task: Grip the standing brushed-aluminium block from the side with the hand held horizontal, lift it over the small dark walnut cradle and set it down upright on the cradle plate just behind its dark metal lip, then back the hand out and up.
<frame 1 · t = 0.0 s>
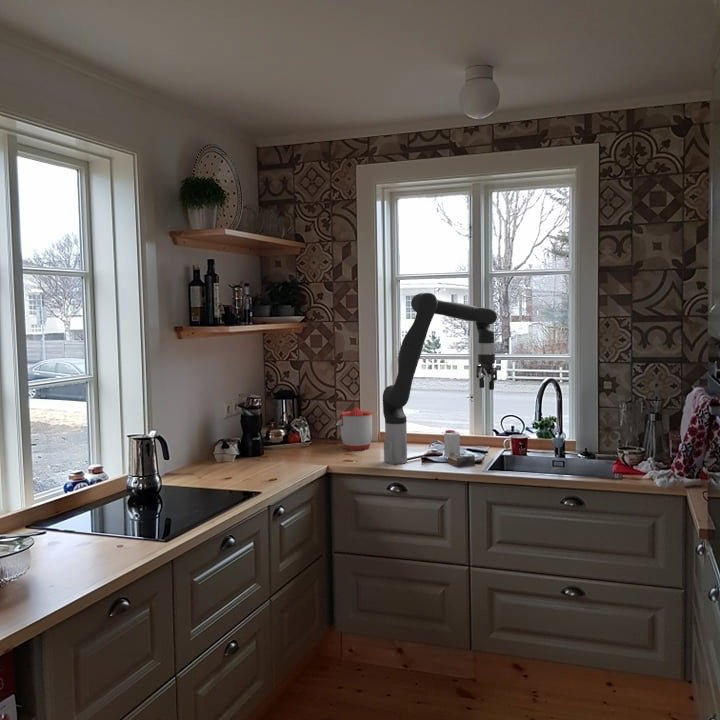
hand: (486, 388, 325), 29 cm above the countertop, tool pointing down, fingers open, 8 cm apart
aluminium block: (452, 458, 316), on the countertop
citrus juicer: (355, 448, 343), on the countertop
walnut cradle: (461, 464, 304), on the countertop
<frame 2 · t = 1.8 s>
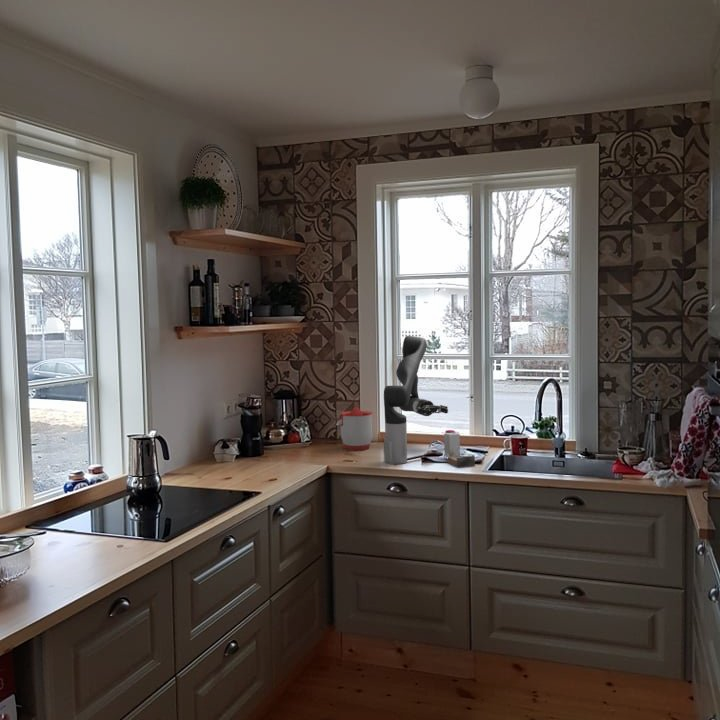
hand: (438, 411, 327), 19 cm above the countertop, tool horizontal, fingers open, 8 cm apart
nothing on the countertop moved.
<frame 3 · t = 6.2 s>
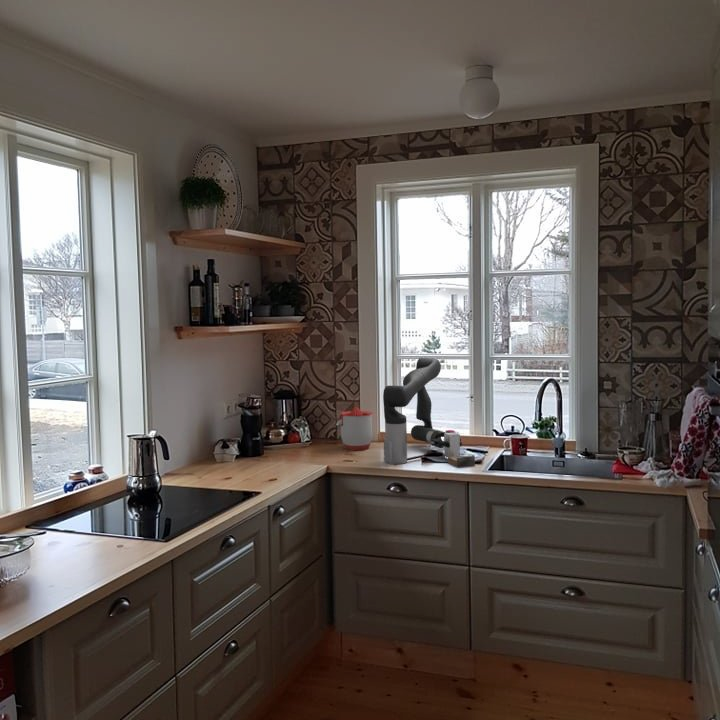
hand: (454, 444, 313), 7 cm above the countertop, tool horizontal, fingers closed on aluminium block, 5 cm apart
aluminium block: (452, 458, 316), on the countertop, touching gripper
everything else where it was.
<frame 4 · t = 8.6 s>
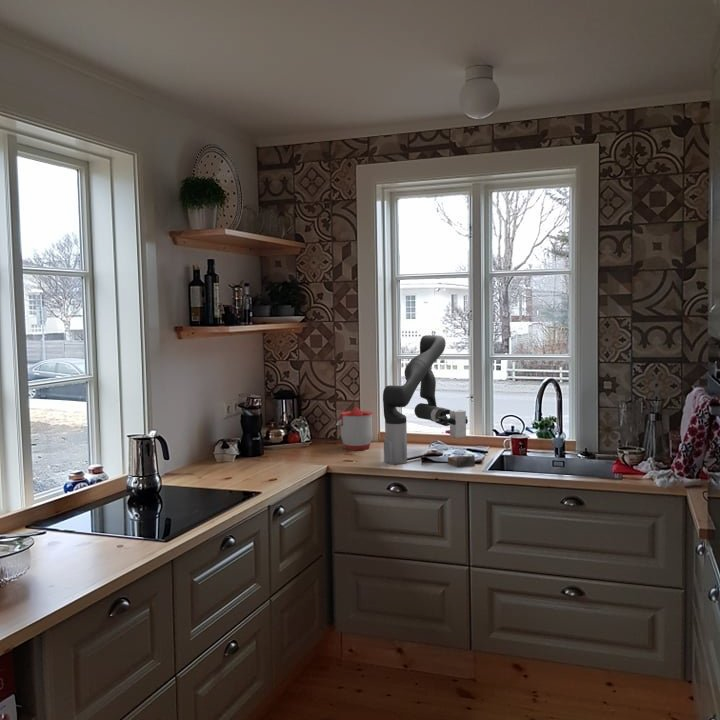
hand: (460, 421, 304), 18 cm above the countertop, tool horizontal, fingers closed on aluminium block, 5 cm apart
aluminium block: (457, 436, 307), point 11 cm above the countertop, touching gripper
everything else where it was.
when the fingers open (10 cm above the countertop, at t = 11.3 s): aluminium block stays where it is, resting on walnut cradle.
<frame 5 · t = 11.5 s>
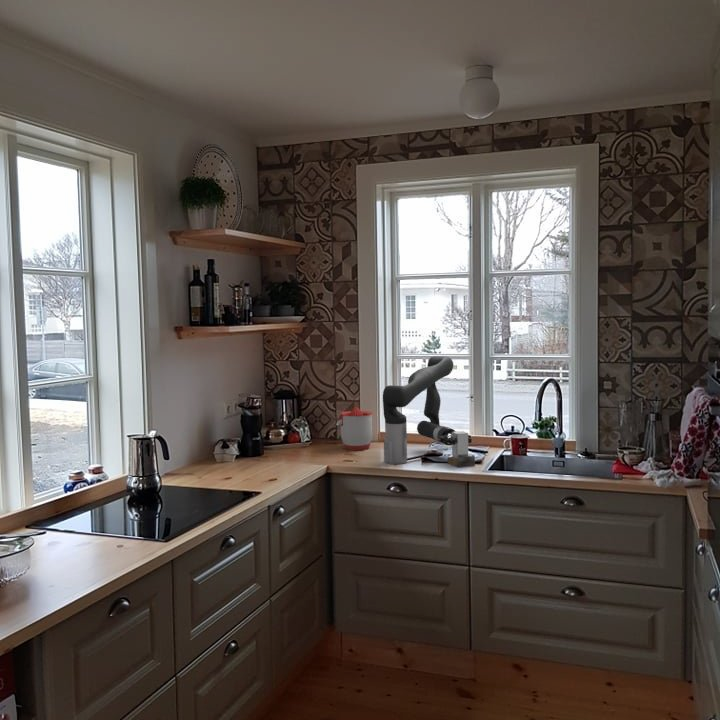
hand: (462, 441, 302), 10 cm above the countertop, tool horizontal, fingers open, 7 cm apart
aluminium block: (460, 458, 305), point 2 cm above the countertop, touching walnut cradle
everything else where it was.
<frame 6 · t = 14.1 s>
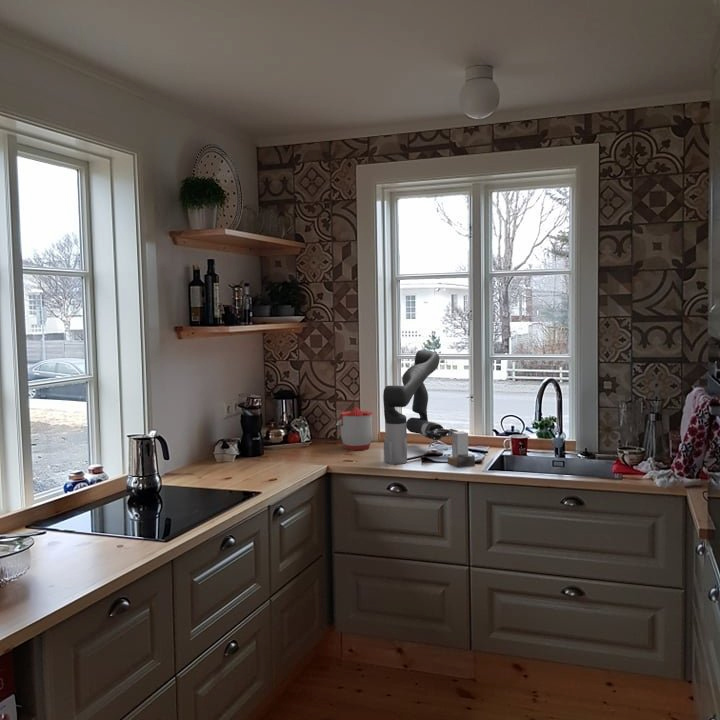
hand: (448, 436, 314), 10 cm above the countertop, tool horizontal, fingers open, 8 cm apart
nothing on the countertop moved.
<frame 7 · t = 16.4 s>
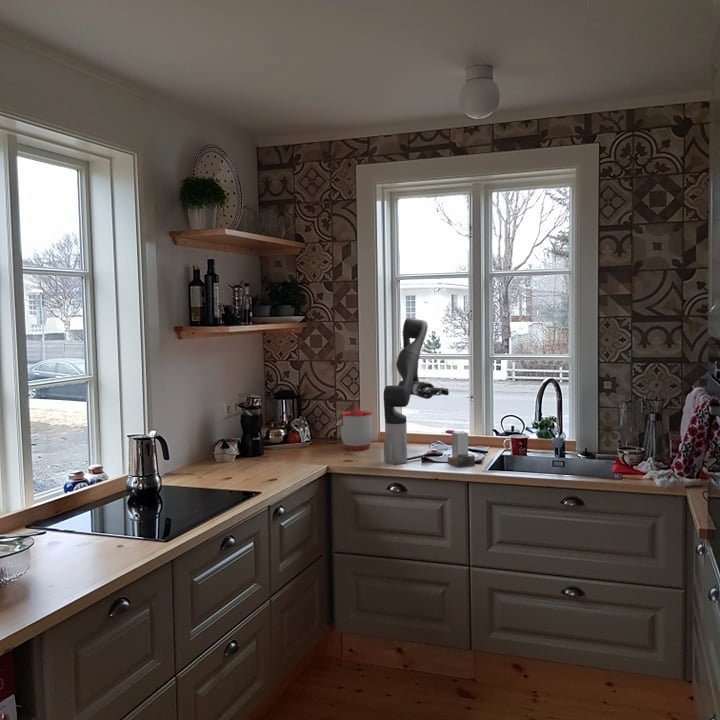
hand: (439, 393, 321), 28 cm above the countertop, tool horizontal, fingers open, 8 cm apart
nothing on the countertop moved.
at the end: aluminium block 0.1 cm off-centre on the walnut cradle, point 2.5 cm above the walnut cradle's base; aluminium block tilted 0°; the gripper is holding nothing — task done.
